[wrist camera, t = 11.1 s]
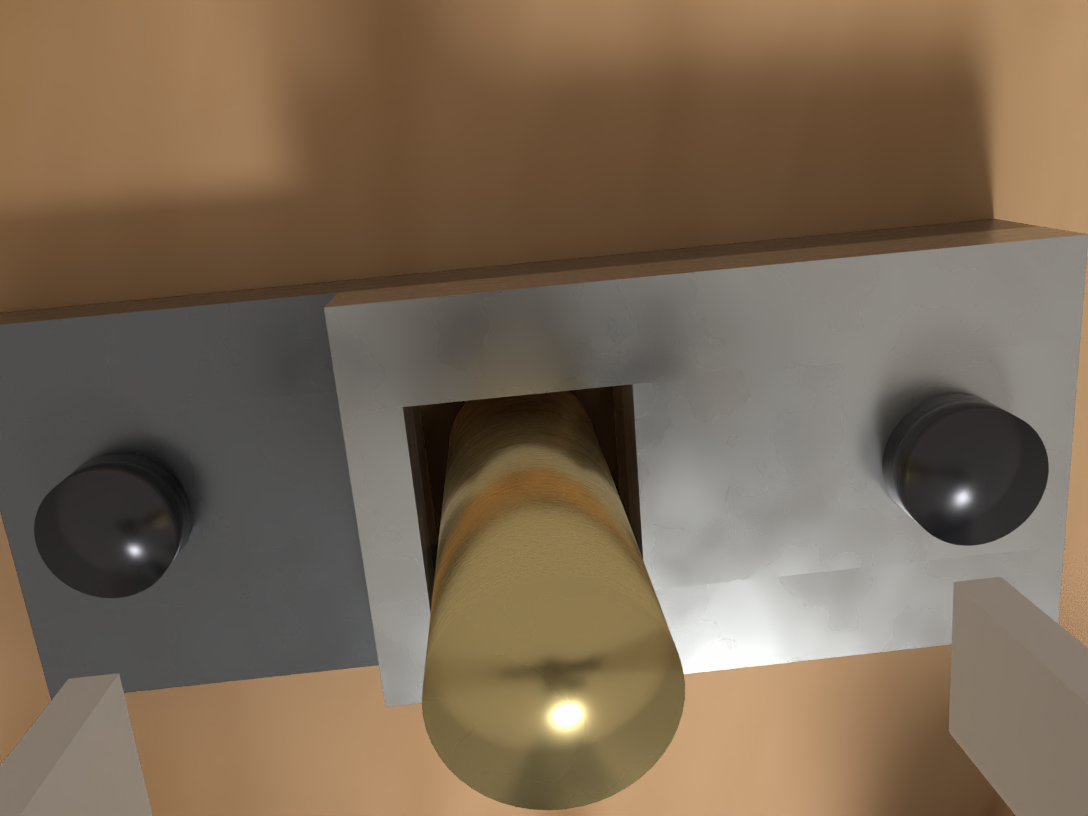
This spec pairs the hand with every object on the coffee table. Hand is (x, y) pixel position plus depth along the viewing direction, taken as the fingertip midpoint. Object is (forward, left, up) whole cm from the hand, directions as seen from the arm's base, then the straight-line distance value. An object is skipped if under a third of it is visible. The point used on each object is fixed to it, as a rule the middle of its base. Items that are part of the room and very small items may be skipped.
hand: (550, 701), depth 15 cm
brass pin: (0, 0, -12) cm, 12 cm away
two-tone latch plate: (0, 0, -12) cm, 12 cm away
